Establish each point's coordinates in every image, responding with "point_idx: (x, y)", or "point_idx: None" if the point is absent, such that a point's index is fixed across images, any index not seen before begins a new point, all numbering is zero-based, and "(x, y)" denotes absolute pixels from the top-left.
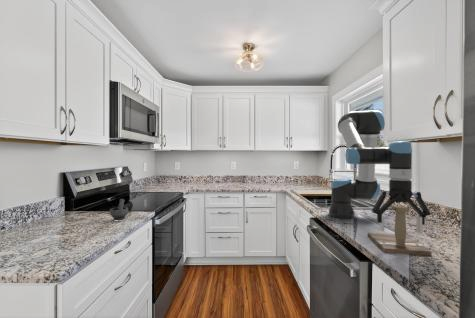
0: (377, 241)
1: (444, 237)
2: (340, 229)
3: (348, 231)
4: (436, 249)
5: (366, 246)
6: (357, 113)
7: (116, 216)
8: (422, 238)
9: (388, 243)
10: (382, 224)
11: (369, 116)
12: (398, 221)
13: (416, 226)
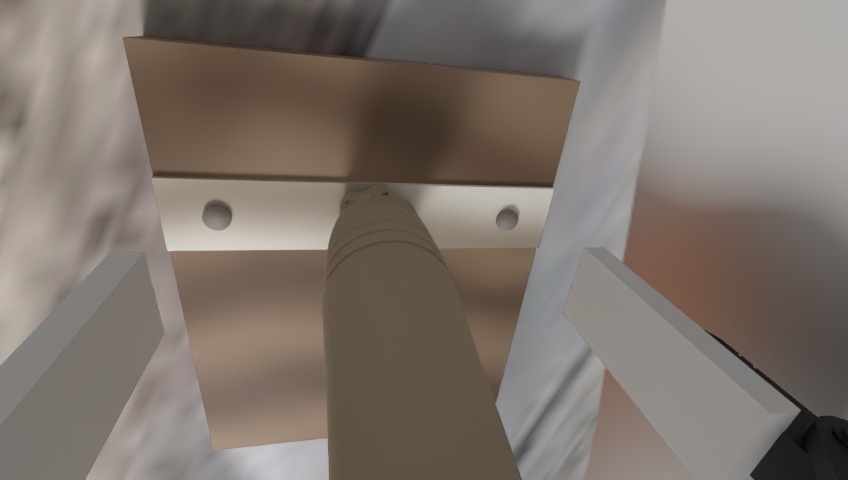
0: (538, 245)
1: None
2: (589, 454)
3: (562, 436)
4: (29, 223)
5: (619, 192)
6: None
7: None
8: None
9: (477, 208)
10: (661, 296)
11: None
12: (471, 355)
13: (135, 385)
